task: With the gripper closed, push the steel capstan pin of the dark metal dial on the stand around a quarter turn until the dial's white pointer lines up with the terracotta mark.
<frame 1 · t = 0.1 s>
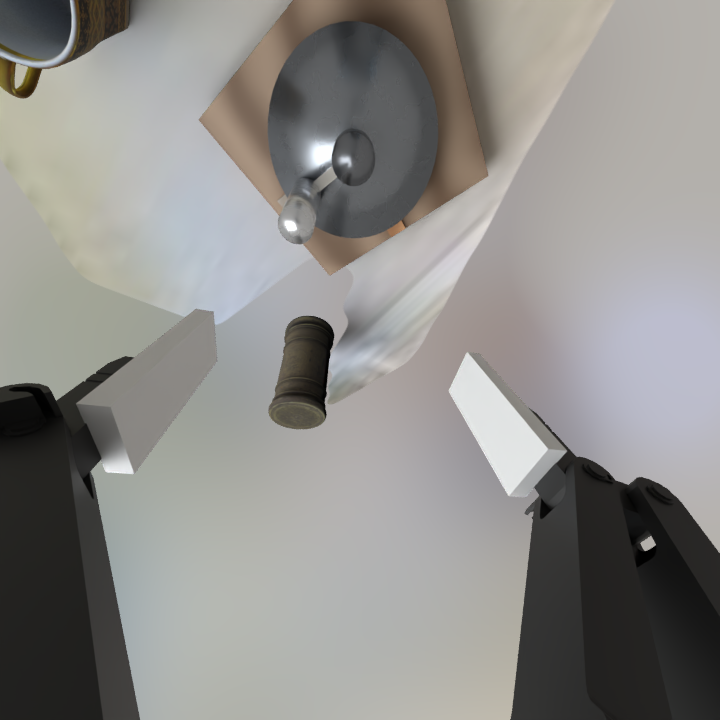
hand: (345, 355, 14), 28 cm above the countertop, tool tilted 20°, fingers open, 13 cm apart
dial: (353, 164, 24), point 8 cm above the countertop, hinge at 0.0°
stand: (353, 143, 29), on the countertop
container: (310, 332, 51), on the countertop
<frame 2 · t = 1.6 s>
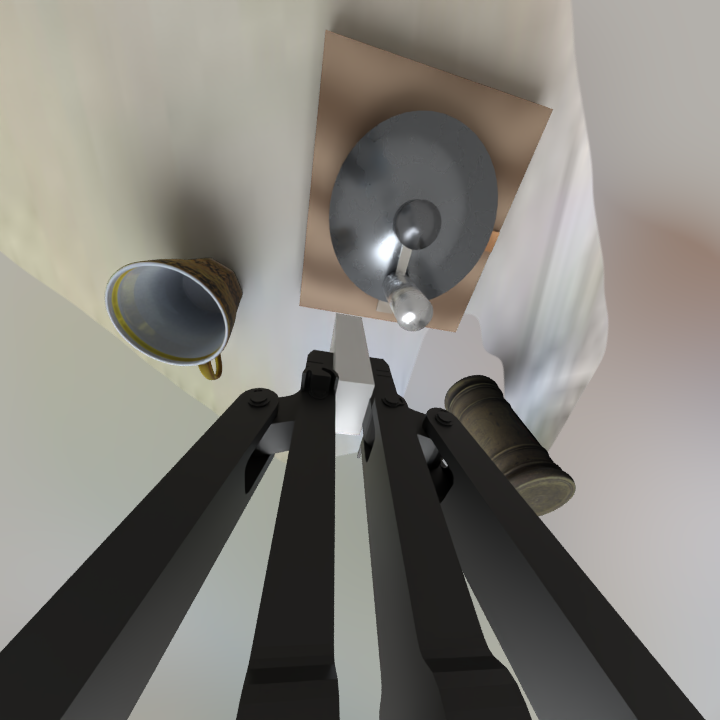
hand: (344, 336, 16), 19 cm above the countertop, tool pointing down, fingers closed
dial: (422, 227, 23), point 8 cm above the countertop, hinge at 0.0°
stand: (401, 219, 30), on the countertop
ceramic cup: (219, 298, 33), on the countertop
container: (469, 395, 45), on the countertop
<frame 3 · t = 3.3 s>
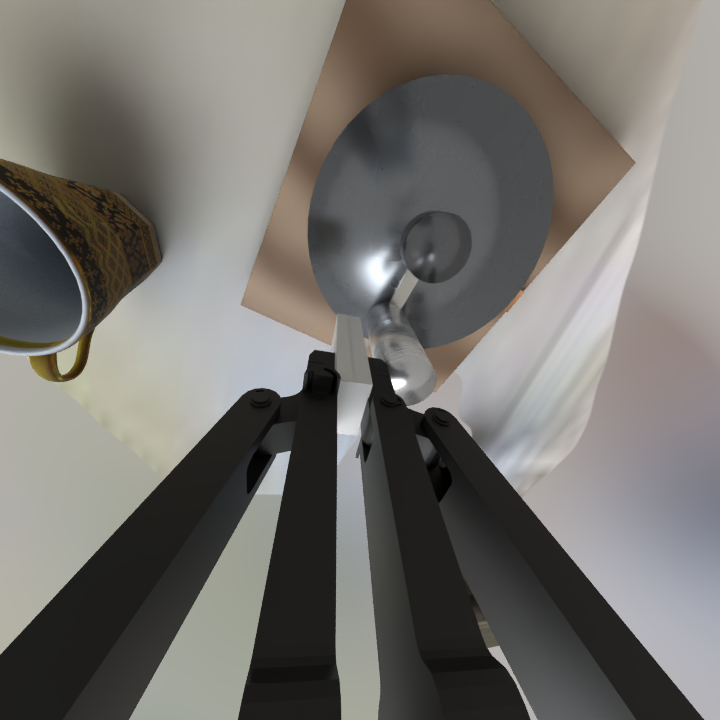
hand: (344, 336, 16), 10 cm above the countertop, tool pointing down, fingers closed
dial: (444, 253, 15), point 8 cm above the countertop, hinge at 3.0°, touching gripper
stand: (411, 235, 22), on the countertop
ceramic cup: (124, 257, 22), on the countertop
container: (426, 459, 38), on the countertop
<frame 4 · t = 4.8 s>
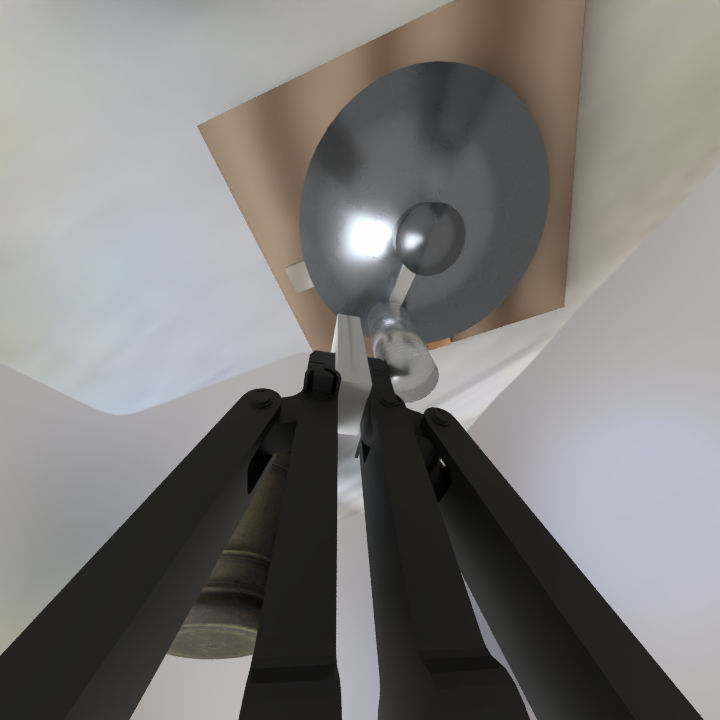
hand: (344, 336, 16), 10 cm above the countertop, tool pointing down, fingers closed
dial: (436, 244, 15), point 8 cm above the countertop, hinge at 50.7°, touching gripper
stand: (406, 229, 22), on the countertop
container: (271, 445, 35), on the countertop
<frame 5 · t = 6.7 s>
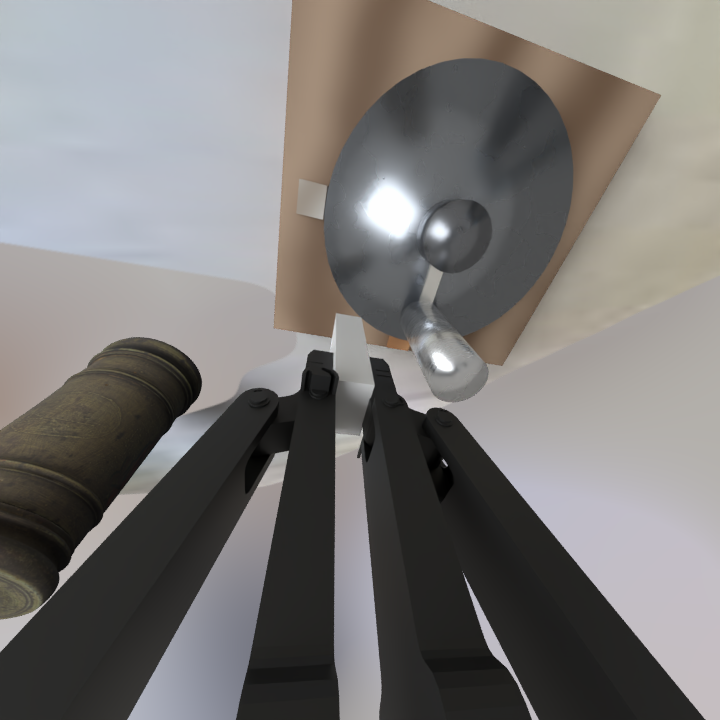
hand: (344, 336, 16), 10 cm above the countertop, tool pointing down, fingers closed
dial: (464, 241, 15), point 8 cm above the countertop, hinge at 91.8°
stand: (424, 226, 22), on the countertop
container: (157, 372, 28), on the countertop
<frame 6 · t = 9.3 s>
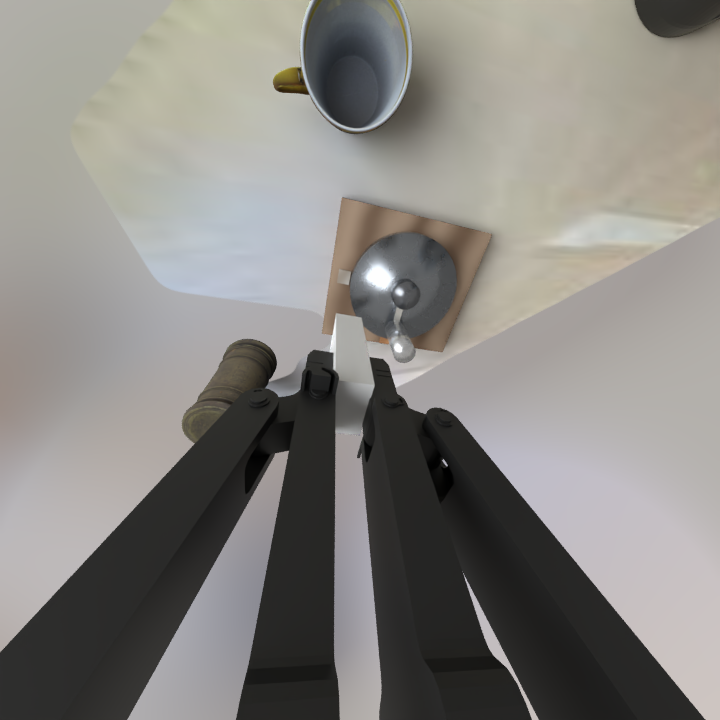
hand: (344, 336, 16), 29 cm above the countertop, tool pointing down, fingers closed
dial: (408, 298, 37), point 8 cm above the countertop, hinge at 91.8°
stand: (396, 282, 44), on the countertop
ceramic cup: (339, 98, 32), on the countertop
container: (252, 358, 50), on the countertop
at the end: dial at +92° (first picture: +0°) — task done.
